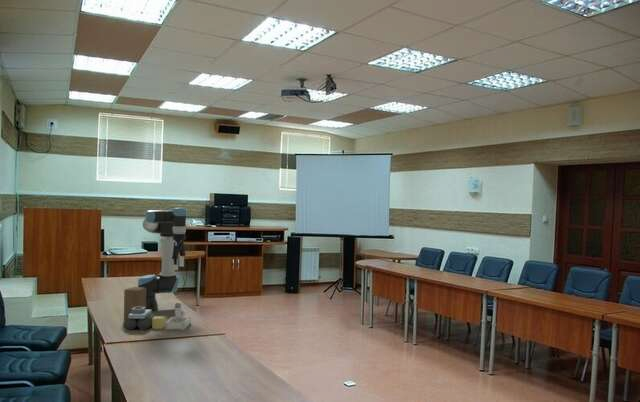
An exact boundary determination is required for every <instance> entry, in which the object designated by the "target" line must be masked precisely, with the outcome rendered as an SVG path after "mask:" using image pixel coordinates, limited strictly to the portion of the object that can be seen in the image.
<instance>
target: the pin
mask: <svg viewBox="0 0 640 402" xmlns="http://www.w3.org/2000/svg"><path fill="white" fill-rule="evenodd" d="M174 317H175V322H178V323H181V317H182V303H181V302H180V303H179V302H176V303H175V304H174Z"/></svg>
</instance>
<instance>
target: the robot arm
mask: <svg viewBox="0 0 640 402" xmlns="http://www.w3.org/2000/svg"><path fill="white" fill-rule="evenodd" d="M186 220H187V209H186V208H185V207H173V209H172V210H171V209H170V210H167V209H166V210H157V209H155V210H152V209H151V210H150V209H149V210H146V211H145V218H144V220H143V221H142V227H143V229H144V230H146V231H147V232H148V233H151V234H159V235H160V238H161V239H162V240H161V243H162V245H161V272H159V274H158V276H156V274H146V275H142V276H140V277H139V278H138V279H137V287H143V288H146V309H149V310H152V312H153V311H156V310H158V309H159V304H158V301H157V298H156V297H157V296H156V294H167V293H168V294H171V293H175V292H177V290H178V287H179V279H180V278H179V275H177V272H176V271H178V270H179V267H185V256H186V250H185V240H186V236H187V235H186V232H187V225H186V224H187V223H186V222H187V221H186Z"/></svg>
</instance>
